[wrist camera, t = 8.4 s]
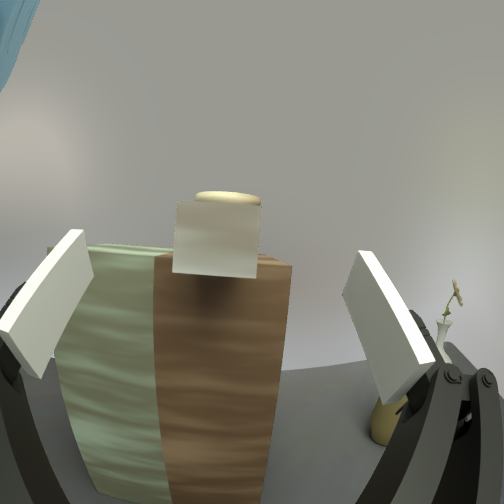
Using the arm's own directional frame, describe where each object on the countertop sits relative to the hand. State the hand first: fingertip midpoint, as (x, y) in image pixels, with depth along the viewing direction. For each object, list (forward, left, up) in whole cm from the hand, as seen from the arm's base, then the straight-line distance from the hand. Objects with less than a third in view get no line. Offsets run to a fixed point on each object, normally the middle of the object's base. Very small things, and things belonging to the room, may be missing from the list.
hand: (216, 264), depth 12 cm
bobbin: (-5, +9, 0) cm, 10 cm away
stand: (-10, +9, -29) cm, 32 cm away
